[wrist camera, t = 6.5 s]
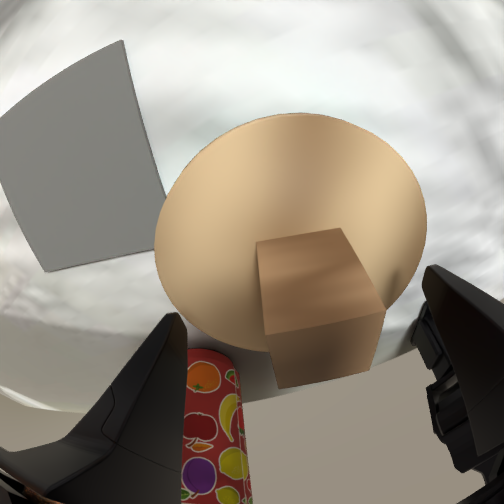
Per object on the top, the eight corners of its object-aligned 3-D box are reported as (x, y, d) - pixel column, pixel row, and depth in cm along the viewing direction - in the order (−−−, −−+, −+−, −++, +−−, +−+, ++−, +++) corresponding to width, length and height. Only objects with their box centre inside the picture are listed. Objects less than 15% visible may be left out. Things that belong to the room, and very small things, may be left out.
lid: (420, 108, 8) (523, 147, 3) (396, 313, 14) (429, 386, 10) (121, 152, 8) (36, 220, 4) (205, 348, 14) (200, 431, 10)
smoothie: (202, 391, 26) (198, 560, 10) (140, 356, 23) (113, 557, 6) (266, 368, 24) (282, 571, 7) (203, 324, 20) (193, 594, 3)
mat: (123, 40, 9) (120, 39, 9) (181, 240, 16) (180, 243, 15) (-13, 131, 10) (-16, 132, 9) (46, 270, 17) (45, 272, 16)
